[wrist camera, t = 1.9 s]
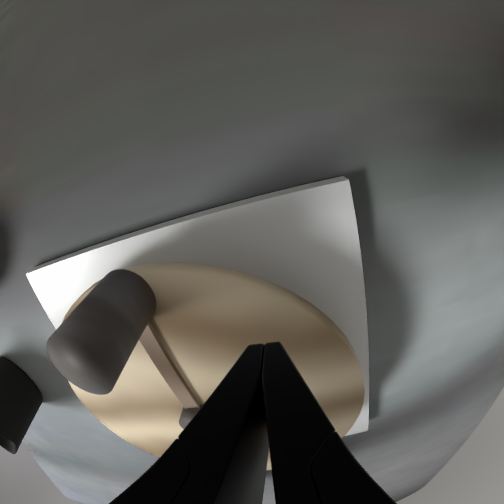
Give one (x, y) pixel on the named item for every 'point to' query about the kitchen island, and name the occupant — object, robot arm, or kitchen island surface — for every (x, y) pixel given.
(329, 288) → the base plate
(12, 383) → the pen holder
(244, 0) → the kitchen island surface
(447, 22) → the kitchen island surface
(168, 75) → the kitchen island surface
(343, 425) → the handwheel
